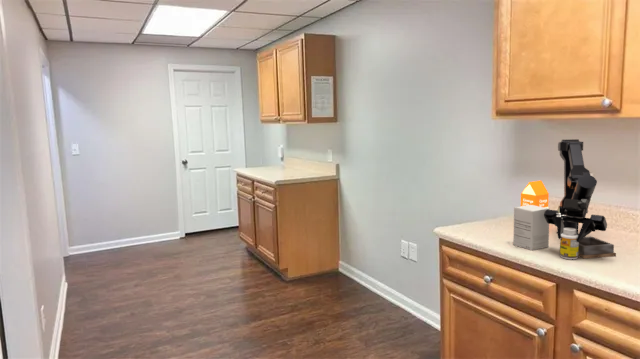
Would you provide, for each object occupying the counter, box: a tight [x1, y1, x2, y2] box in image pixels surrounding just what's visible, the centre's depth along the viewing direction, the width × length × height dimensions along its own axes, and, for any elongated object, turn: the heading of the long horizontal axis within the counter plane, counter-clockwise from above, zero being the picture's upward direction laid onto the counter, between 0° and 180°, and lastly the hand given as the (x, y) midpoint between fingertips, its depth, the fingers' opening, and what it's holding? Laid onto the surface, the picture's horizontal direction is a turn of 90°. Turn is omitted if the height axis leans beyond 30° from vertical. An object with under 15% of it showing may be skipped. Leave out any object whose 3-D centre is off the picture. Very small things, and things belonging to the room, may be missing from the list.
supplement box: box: [512, 205, 550, 251], centre depth 168 cm, size 9×9×15 cm
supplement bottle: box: [559, 228, 579, 260], centre depth 153 cm, size 6×6×10 cm
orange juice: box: [520, 180, 550, 208], centre depth 198 cm, size 8×9×20 cm
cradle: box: [578, 236, 617, 260], centre depth 158 cm, size 12×12×4 cm
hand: (568, 239), depth 152 cm, fingers closed on supplement bottle, 5 cm apart
